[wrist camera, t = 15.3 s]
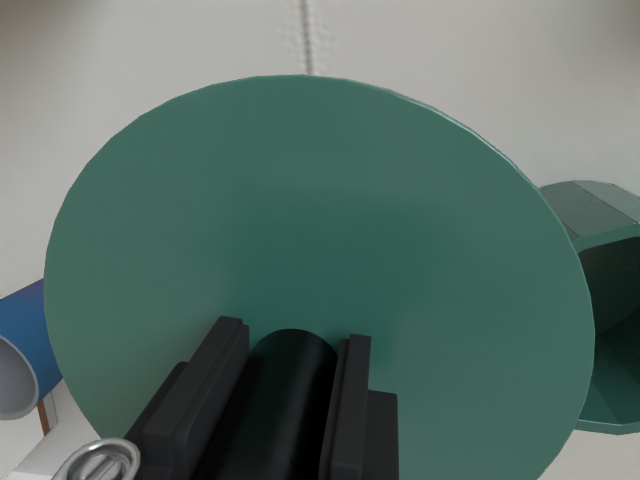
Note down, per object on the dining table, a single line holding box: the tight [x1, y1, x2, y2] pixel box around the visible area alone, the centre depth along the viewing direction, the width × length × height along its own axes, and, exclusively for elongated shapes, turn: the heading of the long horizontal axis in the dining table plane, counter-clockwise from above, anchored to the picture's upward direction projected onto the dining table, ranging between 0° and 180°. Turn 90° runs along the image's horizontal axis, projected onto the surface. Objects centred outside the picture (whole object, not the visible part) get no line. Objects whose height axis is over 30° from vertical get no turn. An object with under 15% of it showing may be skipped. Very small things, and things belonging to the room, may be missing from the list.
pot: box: [539, 181, 640, 435], centre depth 29 cm, size 14×14×10 cm
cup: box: [0, 279, 63, 420], centre depth 32 cm, size 7×7×15 cm
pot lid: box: [43, 74, 595, 480], centre depth 10 cm, size 15×15×6 cm
